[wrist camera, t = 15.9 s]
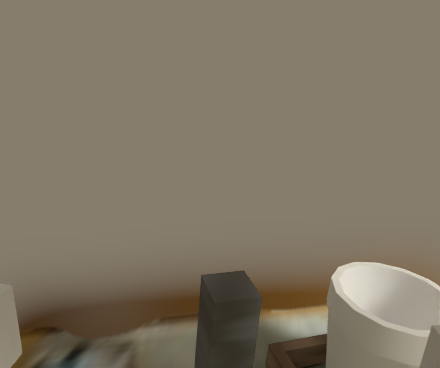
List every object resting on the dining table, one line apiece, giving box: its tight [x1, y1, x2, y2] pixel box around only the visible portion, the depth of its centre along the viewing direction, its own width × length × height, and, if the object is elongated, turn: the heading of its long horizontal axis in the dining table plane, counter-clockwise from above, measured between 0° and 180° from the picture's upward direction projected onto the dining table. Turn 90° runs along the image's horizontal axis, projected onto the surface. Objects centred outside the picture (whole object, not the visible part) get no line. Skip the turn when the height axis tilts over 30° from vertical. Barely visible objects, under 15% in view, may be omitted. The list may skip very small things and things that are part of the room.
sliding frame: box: [195, 271, 327, 368], centre depth 27 cm, size 24×14×15 cm, turn 108°
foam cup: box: [326, 262, 440, 368], centre depth 29 cm, size 10×9×13 cm
